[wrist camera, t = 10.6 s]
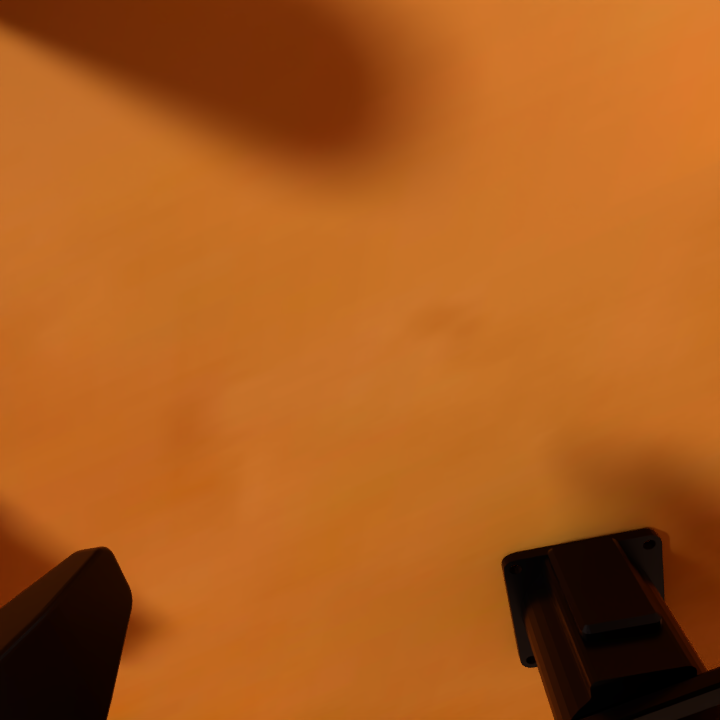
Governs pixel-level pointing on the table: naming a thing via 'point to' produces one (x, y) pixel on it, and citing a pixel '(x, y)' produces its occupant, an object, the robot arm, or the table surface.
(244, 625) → the table surface
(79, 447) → the table surface
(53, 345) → the table surface
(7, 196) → the table surface
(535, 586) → the robot arm
